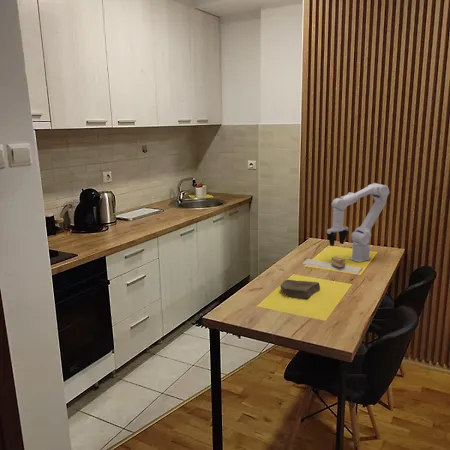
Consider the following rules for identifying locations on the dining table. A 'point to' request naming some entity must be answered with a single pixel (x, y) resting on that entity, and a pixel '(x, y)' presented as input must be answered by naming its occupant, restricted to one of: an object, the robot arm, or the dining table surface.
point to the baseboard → (328, 265)
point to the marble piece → (299, 288)
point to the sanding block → (338, 262)
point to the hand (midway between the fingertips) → (336, 244)
